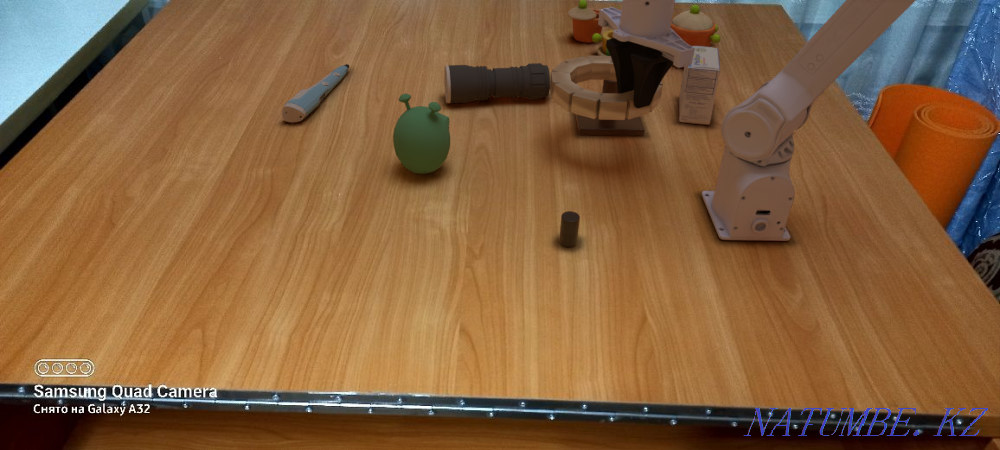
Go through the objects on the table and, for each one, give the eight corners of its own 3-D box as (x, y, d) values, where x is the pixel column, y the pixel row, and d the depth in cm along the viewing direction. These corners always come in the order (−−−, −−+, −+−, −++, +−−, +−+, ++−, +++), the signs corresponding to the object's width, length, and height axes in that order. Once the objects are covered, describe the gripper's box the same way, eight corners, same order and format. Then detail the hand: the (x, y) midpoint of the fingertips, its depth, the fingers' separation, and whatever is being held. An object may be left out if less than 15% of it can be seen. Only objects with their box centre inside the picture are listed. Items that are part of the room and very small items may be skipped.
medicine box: (709, 126, 105) (721, 69, 100) (677, 122, 106) (687, 65, 101) (708, 102, 111) (719, 47, 106) (678, 98, 112) (687, 44, 107)
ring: (668, 120, 89) (671, 102, 88) (554, 119, 89) (556, 101, 88) (648, 73, 101) (650, 56, 99) (546, 71, 100) (547, 54, 99)
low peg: (577, 247, 81) (580, 221, 79) (559, 247, 81) (562, 221, 79) (576, 236, 83) (578, 211, 81) (558, 236, 83) (560, 210, 81)
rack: (643, 136, 102) (650, 93, 98) (578, 135, 102) (583, 91, 98) (633, 106, 109) (639, 65, 106) (573, 105, 109) (576, 64, 105)
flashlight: (544, 88, 114) (546, 55, 110) (551, 104, 109) (554, 70, 106) (444, 93, 111) (443, 59, 108) (448, 109, 107) (447, 74, 104)
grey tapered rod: (302, 126, 102) (299, 107, 100) (281, 123, 103) (278, 104, 101) (357, 70, 117) (355, 53, 116) (338, 68, 118) (336, 51, 116)
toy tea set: (712, 37, 132) (723, -17, 127) (724, 73, 120) (736, 15, 114) (566, 28, 134) (570, -26, 129) (562, 63, 122) (567, 5, 116)
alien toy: (463, 161, 95) (462, 90, 90) (433, 190, 90) (430, 116, 84) (416, 148, 98) (413, 78, 92) (384, 175, 92) (378, 103, 86)
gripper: (582, -25, 85) (572, 84, 93) (666, 16, 75) (647, 133, 83) (630, -33, 88) (616, 73, 96) (717, 5, 78) (694, 119, 86)
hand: (634, 100), depth 90 cm, fingers closed on ring, 2 cm apart
